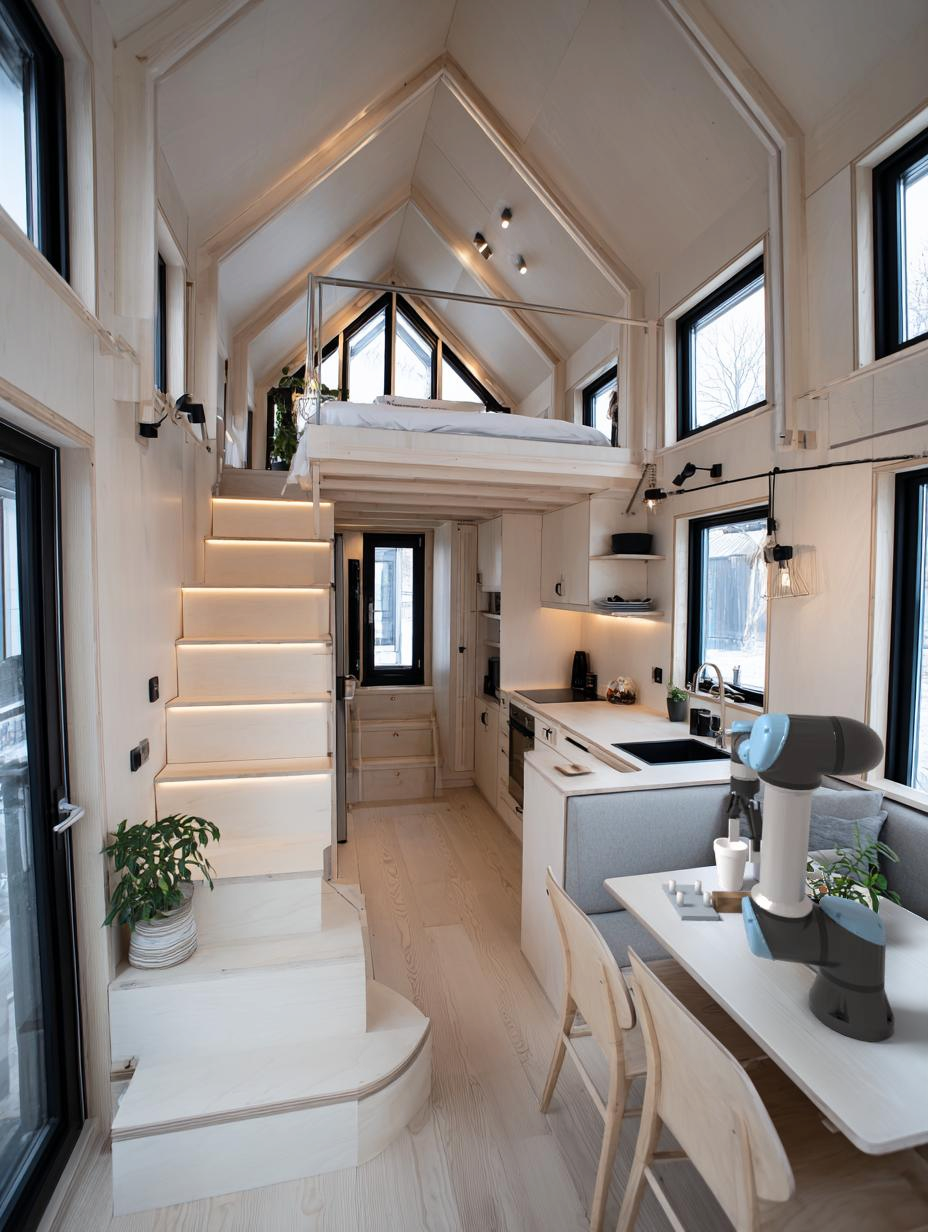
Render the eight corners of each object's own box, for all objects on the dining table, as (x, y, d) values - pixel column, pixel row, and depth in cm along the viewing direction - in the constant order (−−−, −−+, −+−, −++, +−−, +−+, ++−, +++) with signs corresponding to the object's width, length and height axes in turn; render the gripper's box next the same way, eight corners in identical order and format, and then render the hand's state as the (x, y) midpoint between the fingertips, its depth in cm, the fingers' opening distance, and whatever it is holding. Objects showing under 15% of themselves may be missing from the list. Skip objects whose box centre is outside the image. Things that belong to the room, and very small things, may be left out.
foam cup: (747, 882, 187) (747, 840, 187) (747, 896, 179) (748, 852, 178) (713, 876, 191) (714, 835, 190) (712, 889, 182) (713, 847, 182)
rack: (719, 920, 165) (719, 903, 165) (681, 920, 165) (682, 902, 165) (695, 888, 183) (696, 873, 183) (662, 888, 183) (662, 872, 183)
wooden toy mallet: (718, 914, 168) (718, 899, 168) (710, 904, 174) (710, 889, 174) (784, 915, 168) (784, 900, 168) (774, 905, 173) (774, 890, 173)
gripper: (780, 791, 157) (779, 872, 158) (739, 763, 182) (738, 833, 183) (751, 791, 157) (749, 871, 158) (714, 763, 182) (713, 833, 183)
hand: (743, 851), depth 170 cm, fingers open, 13 cm apart
